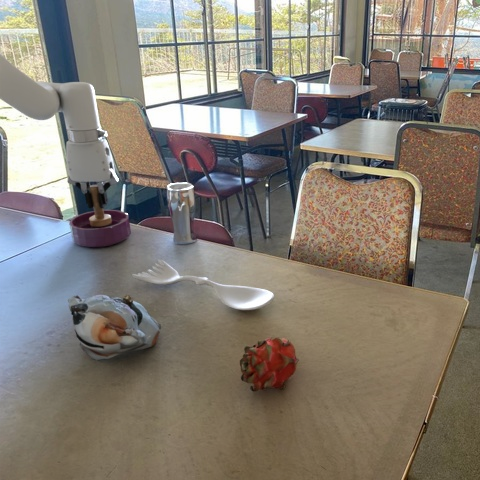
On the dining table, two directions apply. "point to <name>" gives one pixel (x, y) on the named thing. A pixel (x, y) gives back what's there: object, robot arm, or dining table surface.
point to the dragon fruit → (268, 363)
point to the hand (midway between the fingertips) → (97, 206)
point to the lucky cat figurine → (112, 325)
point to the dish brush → (98, 211)
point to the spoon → (228, 294)
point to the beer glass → (182, 212)
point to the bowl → (100, 229)
